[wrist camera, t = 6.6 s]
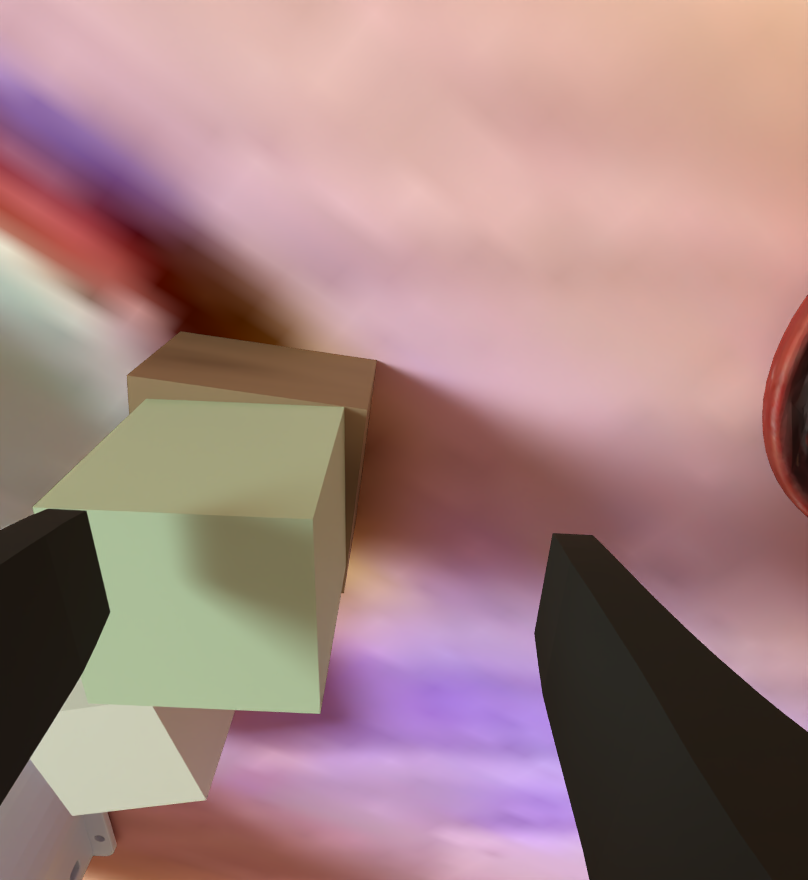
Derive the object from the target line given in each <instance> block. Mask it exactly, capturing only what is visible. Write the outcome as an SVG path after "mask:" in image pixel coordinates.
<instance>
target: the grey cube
mask: <svg viewBox="0 0 808 880" xmlns="http://www.w3.org/2000/svg"><path fill="white" fill-rule="evenodd" d="M234 713H235V710H224V709H202V708H180V707H158V706H135V705H113V704H91V703H88V701H87V697H86V694H85V690H84V687H83V683H82V680H81V677H80V679H79V680H78V682H77V684H76V685H75V687H74V689H73V690H72V692H71V693H70V695H69V697H68V698H67V700H66V702H65V703H64V705H63V706H62V708H61V710H60V711H59V713H58V715H57V716H56V718H55V719H54V721H53V723H52V724H51V726H50V727H49V729H48V731H47V732H46V734H45V735H44V737H43V739H42V740H41V742H40V743H39V745H38V747H37V748H36V750H35V751H34V753H33V755H32V756H31V758H30V760H31V761H32V762H33V764H34V765H35V767H36V768H37V769H38V771H39V772H40V773H41V775H42V776H43V777H44V779H45V780H46V781H47V783H48V784H49V785H50V787H51V788H52V789H53V791H54V792H55V793H56V795H57V796H58V797H59V799H60V800H61V801H62V803H63V804H64V805H65V807H66V808H67V810H68V811H69V812H70V814H71V815H72V816H76V815H84V814H93V813H101V812H110V811H118V810H127V809H135V808H144V807H152V806H161V805H170V804H178V803H187V802H195V801H204V800H207V796H208V793H209V790H210V787H211V784H212V781H213V778H214V775H215V772H216V768H217V765H218V762H219V759H220V756H221V753H222V750H223V747H224V744H225V741H226V737H227V734H228V731H229V728H230V725H231V722H232V719H233V716H234Z"/></svg>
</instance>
